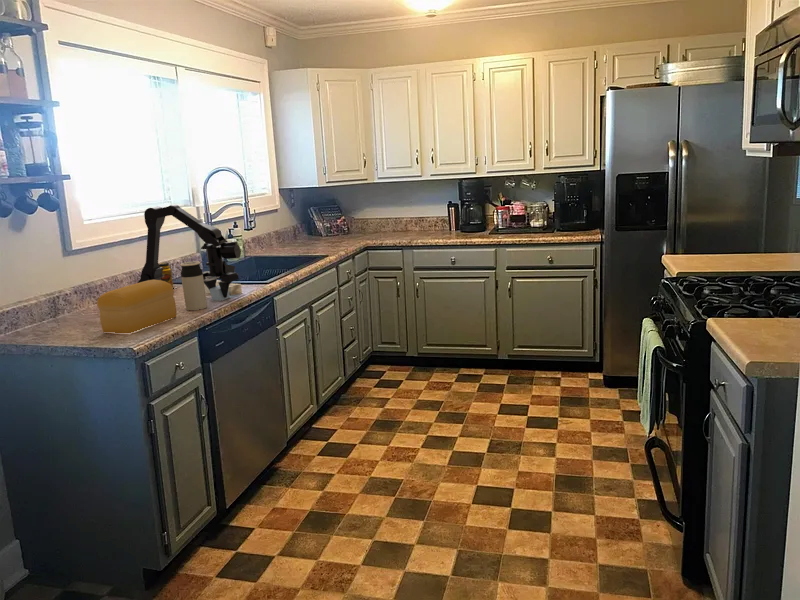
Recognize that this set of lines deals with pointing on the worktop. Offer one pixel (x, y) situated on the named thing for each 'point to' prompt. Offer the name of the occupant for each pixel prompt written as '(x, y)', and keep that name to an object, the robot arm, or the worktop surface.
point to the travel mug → (193, 286)
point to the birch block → (234, 289)
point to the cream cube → (208, 289)
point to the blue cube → (217, 294)
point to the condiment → (166, 273)
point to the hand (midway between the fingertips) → (220, 297)
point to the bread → (136, 306)
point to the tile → (233, 296)
